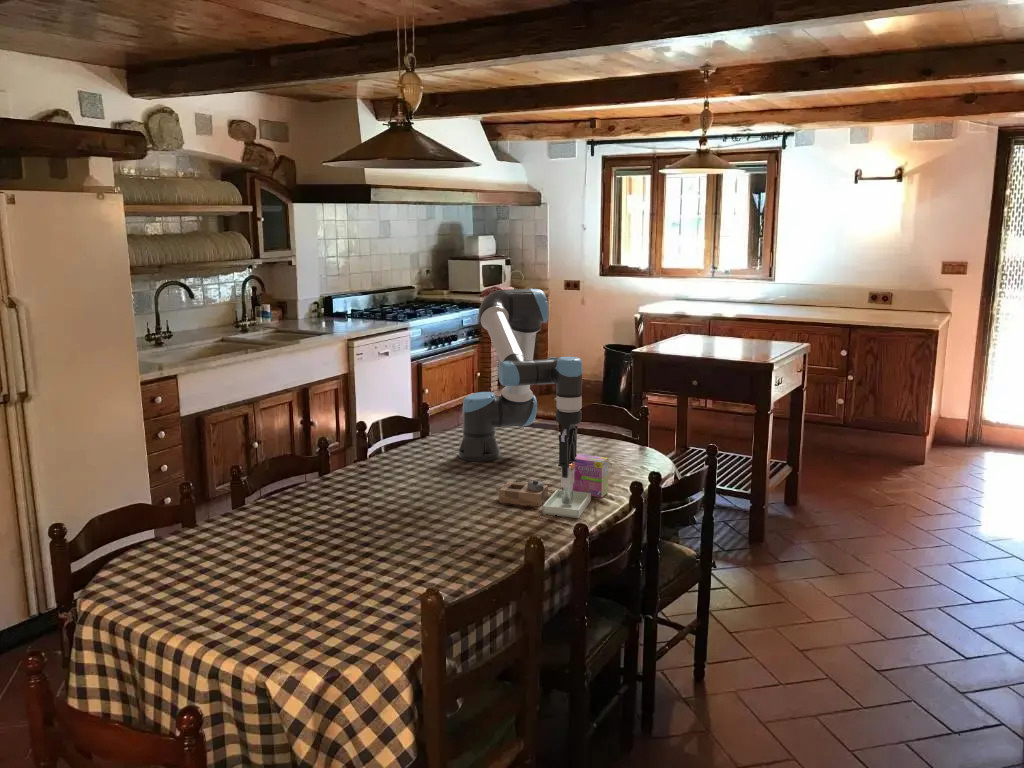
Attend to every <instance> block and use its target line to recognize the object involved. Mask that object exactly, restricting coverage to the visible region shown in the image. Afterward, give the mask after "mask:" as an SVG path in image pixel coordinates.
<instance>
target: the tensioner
mask: <svg viewBox="0 0 1024 768" xmlns="http://www.w3.org/2000/svg"><path fill="white" fill-rule="evenodd" d="M498 492H499V493H498V495H499V496H498V501H499V502H498V503H501V504H502V503H503V504H509V503H510V505H518V504H520V505H519V506H527V505H531V506H530V507H535V506H539V507H538V508H540V507H541V506H542V505H543V504H544V503H543V502H545V501H547V500H548V499H549V485H547V484H546V485H545V483H544V482H543V481H540V480H537V479H533V480H530V481H528V482H521V481H520V482H519V481H511V480H510V481H507V482H506V483H505V484H504V485H503V486H502V487H501V488H500V489H499V490H498ZM542 503H543V504H542ZM541 504H542V505H541ZM540 505H541V506H540Z"/></svg>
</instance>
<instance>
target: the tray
mask: <svg viewBox="0 0 1024 768" xmlns="http://www.w3.org/2000/svg"><path fill="white" fill-rule="evenodd" d="M545 501H546V502H545V503H543V504H542V505H541V506H542V507H541V509H542V510H541V511H542V513H541V514H542V515H546V514H548V515H547V516H555V515H557V517H565V518H574V519H579V518H580V517H581V516H582V514H583V513H584V512H585V510H586V508H588V506H589V504H590V503H591V502H592V496H591V493H586V492H576V491H573V503H572V504H563V503H562V489H555V491H554V492H553V493H552V494H551V495H550V497H548V498H547V499H546V500H545Z"/></svg>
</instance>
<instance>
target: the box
mask: <svg viewBox="0 0 1024 768" xmlns="http://www.w3.org/2000/svg"><path fill="white" fill-rule="evenodd" d="M576 455H577V456H576V457H575V458H577V461H573V462H575V468H574V483H573V491H576V492H586V493H591V497H594V498H595V497H596V498H603V497H604V496H606V495H607V494H608V493H609V468H610V467H609V466H610V465H609V463H610V461H609V457H603V456H599V455H598V456H597V455H589V454H582V453H577V454H576Z"/></svg>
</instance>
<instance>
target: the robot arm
mask: <svg viewBox="0 0 1024 768" xmlns="http://www.w3.org/2000/svg"><path fill="white" fill-rule="evenodd" d="M549 314H550V311H549V303H548V299H547V296H546V294H545V291H543V290H542V289H540V288H531V287H530V288H517V289H516V288H515V289H505V288H503V289H496V290H494V291H491V292H490V293H489V294H487V295H486V296H485V297H484V299H483V300H482V302H481V304H480V306H479V309H478V318H479V322H480V325H481V326H482V328H483V329H485V330H486V331H487V333H488V335H489V338H490V340H491V342H492V345H493V348H494V349H495V352H496V354H497V357H498V359H499V361H500V362H499V363H498V367H497V377H498V382H499V383H500V385H501V386H503V388H502V389H501V392H500V395H495V393H494V392H492V391H480V392H474V393H471V394H468V395H467V396H465V397H464V398H463V401H462V429H463V431H462V438H461V442H460V445H459V448H458V458H459V459H461V460H463V461H466V462H475V463H477V462H478V463H483V462H491V461H494V460H497V459H499V458H500V456H501V455H500V454H501V452H500V451H501V450H500V448H499V444H498V440H497V438H496V429H497V428H498V429H499V428H510V427H512V428H513V427H520V428H521V427H525V426H530V425H531V424H533V423H534V422H535V419H536V418H537V417H536V416H537V414H538V413H537V411H538V407H537V406H538V402H537V398H536V395H535V394H534V393H533V391H532V390H531V386H535V385H536V386H537V385H553V384H555V385H556V386H555V387H556V390H555V392H556V394H555V395H556V397H554V401H556V403H555V407H556V408H557V409H556V411H555V421H556V423H558V424H561V428H560V431H559V433H560V434H559V435H558V454H559V455H558V467H560V488H562V487H565V488H570V468H571V466H570V462H573V461H577V458H575V457H576V456H577V455H578V454H577V453H578V452H577V448H578V447H577V444H578V429H579V427H578V424H580V423H581V422H582V410H581V409H582V406H583V405H582V403H583V402H582V401H583V398H582V395H583V394H582V393H583V392H582V391H583V390H582V389H583V372H584V370H583V361H582V358H580V357H576V356H561V357H557V356H556V357H555V356H551V357H548V358H547V359H534V352H535V343H536V336H537V333H538V332H540V331H541V330H542V325H543V324H545V323H547V322H548V320H549V317H550V315H549ZM573 463H575V462H573ZM573 483H574V469H573Z"/></svg>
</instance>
